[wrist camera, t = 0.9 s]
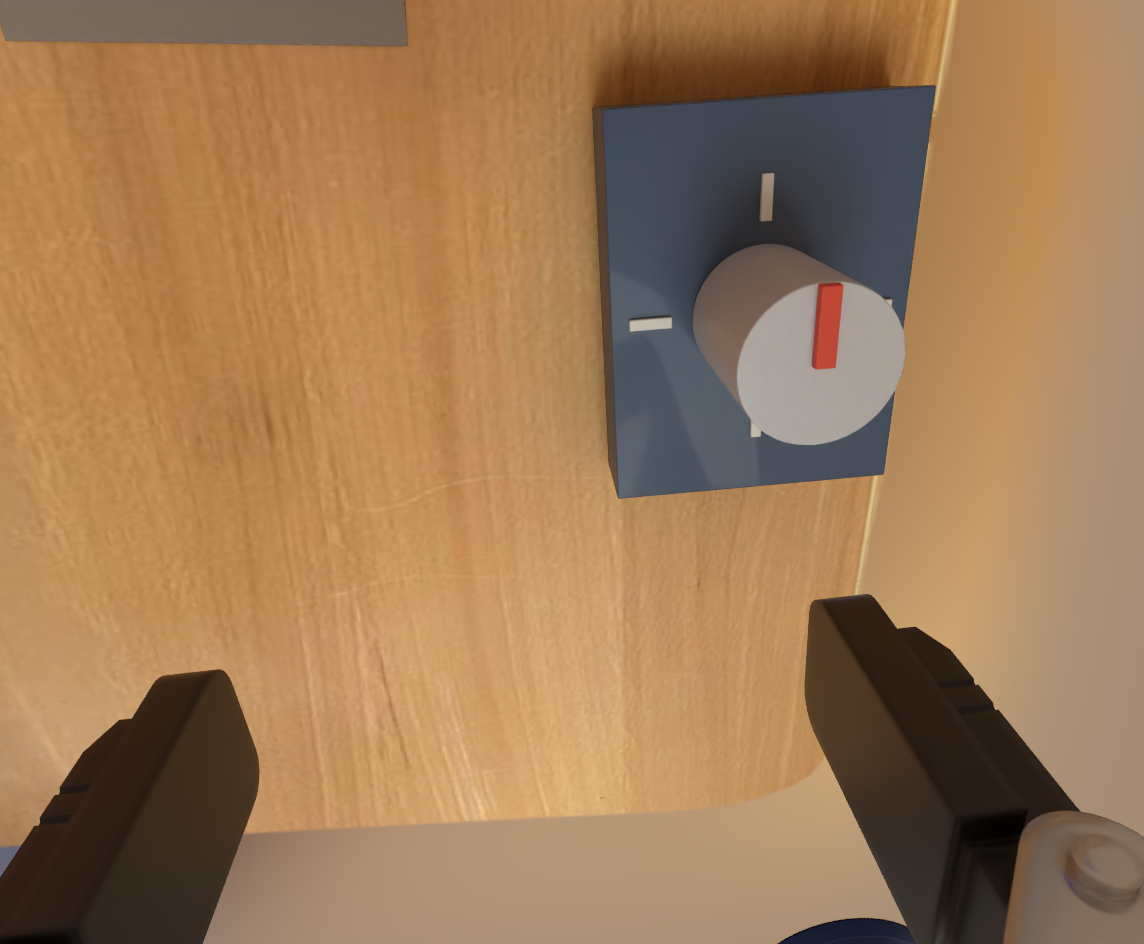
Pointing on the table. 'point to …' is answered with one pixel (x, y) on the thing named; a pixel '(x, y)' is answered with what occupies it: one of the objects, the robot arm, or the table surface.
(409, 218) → the table surface
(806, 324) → the tap knob
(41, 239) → the table surface
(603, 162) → the rotary dial base
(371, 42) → the platform
